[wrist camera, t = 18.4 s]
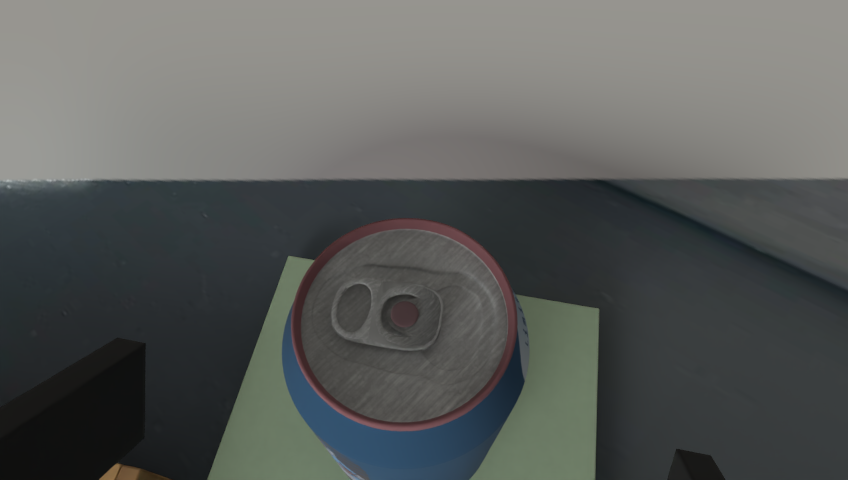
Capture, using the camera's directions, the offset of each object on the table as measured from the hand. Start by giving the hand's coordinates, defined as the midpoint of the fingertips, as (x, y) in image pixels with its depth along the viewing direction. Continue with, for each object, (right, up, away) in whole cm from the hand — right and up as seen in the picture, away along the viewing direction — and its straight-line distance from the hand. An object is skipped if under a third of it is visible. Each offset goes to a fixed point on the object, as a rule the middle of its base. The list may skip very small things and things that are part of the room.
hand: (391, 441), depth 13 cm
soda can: (0, -3, +11) cm, 11 cm away
